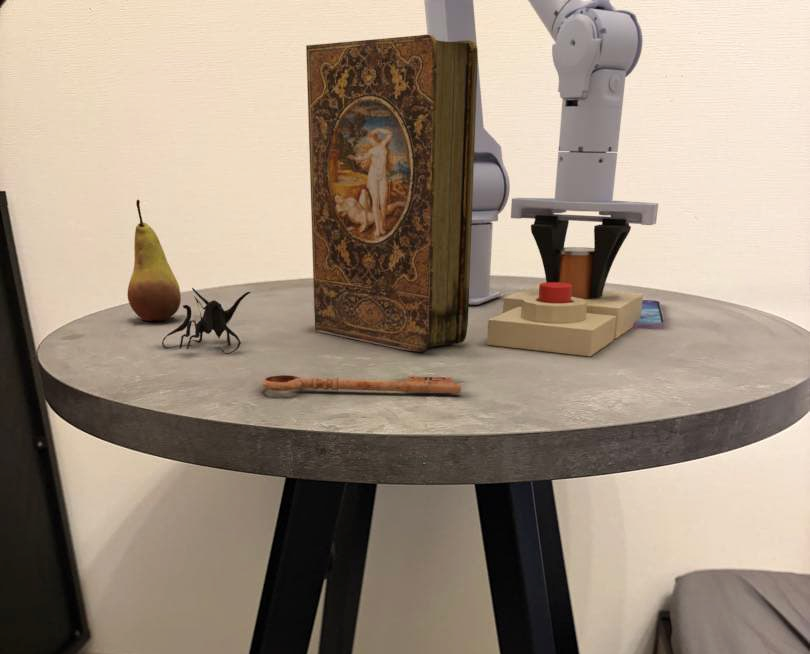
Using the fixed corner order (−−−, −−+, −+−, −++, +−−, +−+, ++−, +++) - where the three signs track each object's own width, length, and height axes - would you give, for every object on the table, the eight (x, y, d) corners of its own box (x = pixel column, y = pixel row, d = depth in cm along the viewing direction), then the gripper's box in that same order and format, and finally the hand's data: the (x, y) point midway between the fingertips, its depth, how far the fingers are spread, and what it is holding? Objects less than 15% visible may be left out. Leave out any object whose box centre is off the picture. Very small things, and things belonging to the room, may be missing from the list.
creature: (227, 370, 76) (266, 334, 82) (215, 312, 73) (257, 278, 79) (150, 363, 78) (194, 328, 84) (135, 306, 75) (182, 273, 81)
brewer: (501, 327, 90) (503, 297, 89) (534, 312, 98) (536, 284, 97) (616, 339, 85) (619, 307, 84) (640, 322, 93) (643, 293, 92)
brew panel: (486, 344, 82) (489, 301, 80) (516, 330, 88) (519, 290, 87) (590, 356, 78) (594, 311, 76) (613, 340, 84) (618, 298, 83)
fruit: (196, 319, 92) (185, 197, 87) (152, 327, 88) (138, 200, 83) (161, 313, 95) (149, 195, 90) (117, 320, 91) (102, 197, 86)
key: (459, 385, 69) (272, 379, 70) (460, 374, 69) (272, 368, 69) (460, 399, 64) (257, 392, 64) (461, 386, 63) (257, 380, 64)
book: (306, 329, 88) (296, 46, 77) (346, 322, 91) (341, 51, 81) (428, 355, 78) (435, 33, 67) (466, 346, 81) (479, 39, 71)
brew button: (533, 304, 81) (535, 285, 80) (544, 300, 83) (545, 281, 83) (564, 307, 80) (566, 287, 79) (574, 302, 82) (576, 283, 81)
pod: (550, 311, 90) (554, 250, 87) (557, 304, 93) (561, 246, 91) (591, 313, 88) (596, 252, 86) (596, 307, 92) (602, 247, 90)
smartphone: (593, 321, 91) (596, 298, 105) (592, 330, 92) (596, 306, 105) (665, 323, 90) (659, 300, 103) (664, 332, 90) (659, 308, 103)
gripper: (671, 153, 85) (653, 295, 91) (531, 151, 91) (522, 284, 97) (655, 153, 79) (637, 305, 85) (506, 151, 85) (499, 293, 91)
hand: (574, 295), depth 90 cm, fingers closed on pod, 4 cm apart
